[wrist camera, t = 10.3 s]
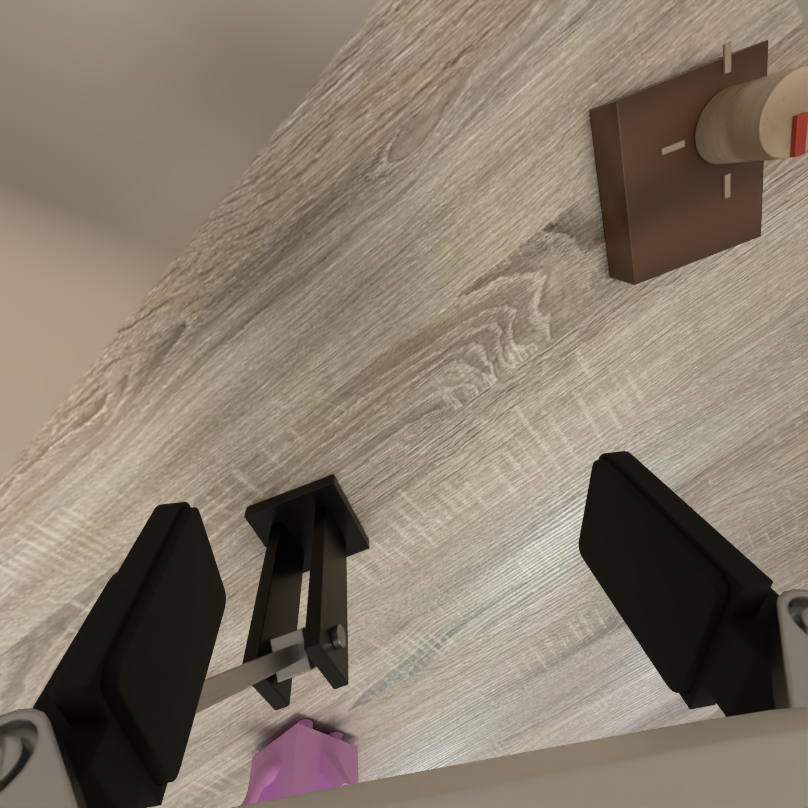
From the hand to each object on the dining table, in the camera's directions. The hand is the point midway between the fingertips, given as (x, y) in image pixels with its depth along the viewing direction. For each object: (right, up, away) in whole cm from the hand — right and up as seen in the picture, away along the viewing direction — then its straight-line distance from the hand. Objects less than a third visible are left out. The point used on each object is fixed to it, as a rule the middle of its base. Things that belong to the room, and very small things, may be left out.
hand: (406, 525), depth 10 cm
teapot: (-11, -38, +42) cm, 58 cm away
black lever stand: (-8, -8, +28) cm, 30 cm away
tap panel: (+18, +18, +19) cm, 32 cm away
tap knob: (+19, +20, +15) cm, 31 cm away
